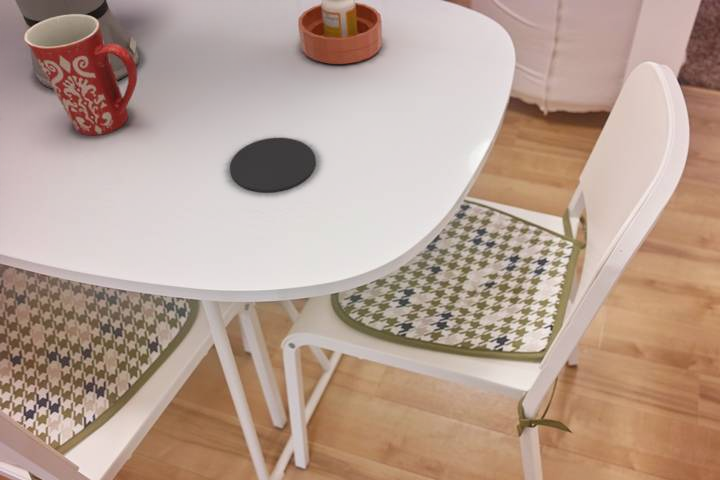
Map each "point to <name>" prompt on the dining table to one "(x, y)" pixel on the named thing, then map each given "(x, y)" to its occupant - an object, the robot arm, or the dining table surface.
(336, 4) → the supplement bottle
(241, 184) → the coaster
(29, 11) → the robot arm
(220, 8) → the dining table surface
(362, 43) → the bowl
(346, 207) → the dining table surface
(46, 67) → the mug
